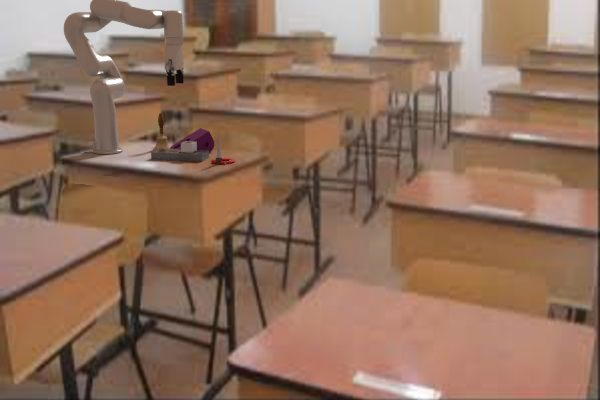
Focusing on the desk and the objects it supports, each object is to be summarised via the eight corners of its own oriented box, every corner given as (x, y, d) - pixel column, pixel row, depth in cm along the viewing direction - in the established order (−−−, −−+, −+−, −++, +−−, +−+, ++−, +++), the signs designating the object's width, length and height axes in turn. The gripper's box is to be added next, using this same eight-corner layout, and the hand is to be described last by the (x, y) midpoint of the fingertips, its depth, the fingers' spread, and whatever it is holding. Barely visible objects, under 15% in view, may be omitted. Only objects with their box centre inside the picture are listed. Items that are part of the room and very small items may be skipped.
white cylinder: (181, 160, 309) (180, 143, 307) (185, 157, 314) (185, 141, 312) (192, 160, 308) (192, 143, 306) (197, 158, 313) (196, 141, 311)
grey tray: (151, 159, 310) (150, 152, 309) (159, 155, 318) (159, 148, 317) (202, 161, 305) (201, 154, 305) (209, 157, 314) (208, 150, 313)
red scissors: (222, 160, 311) (209, 163, 303) (222, 129, 308) (209, 131, 300) (239, 162, 307) (226, 165, 299) (239, 131, 304) (226, 133, 296)
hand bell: (149, 150, 329) (147, 114, 325) (158, 147, 337) (156, 111, 333) (166, 151, 327) (165, 115, 323) (175, 148, 334) (173, 112, 330)
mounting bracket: (183, 169, 320) (217, 147, 326) (174, 152, 316) (209, 131, 322) (174, 165, 328) (208, 144, 334) (166, 148, 324) (200, 128, 330)
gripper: (172, 40, 312) (174, 82, 316) (157, 42, 296) (158, 86, 300) (190, 41, 311) (191, 82, 315) (175, 43, 294) (176, 86, 298)
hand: (175, 84), depth 307 cm, fingers open, 9 cm apart
